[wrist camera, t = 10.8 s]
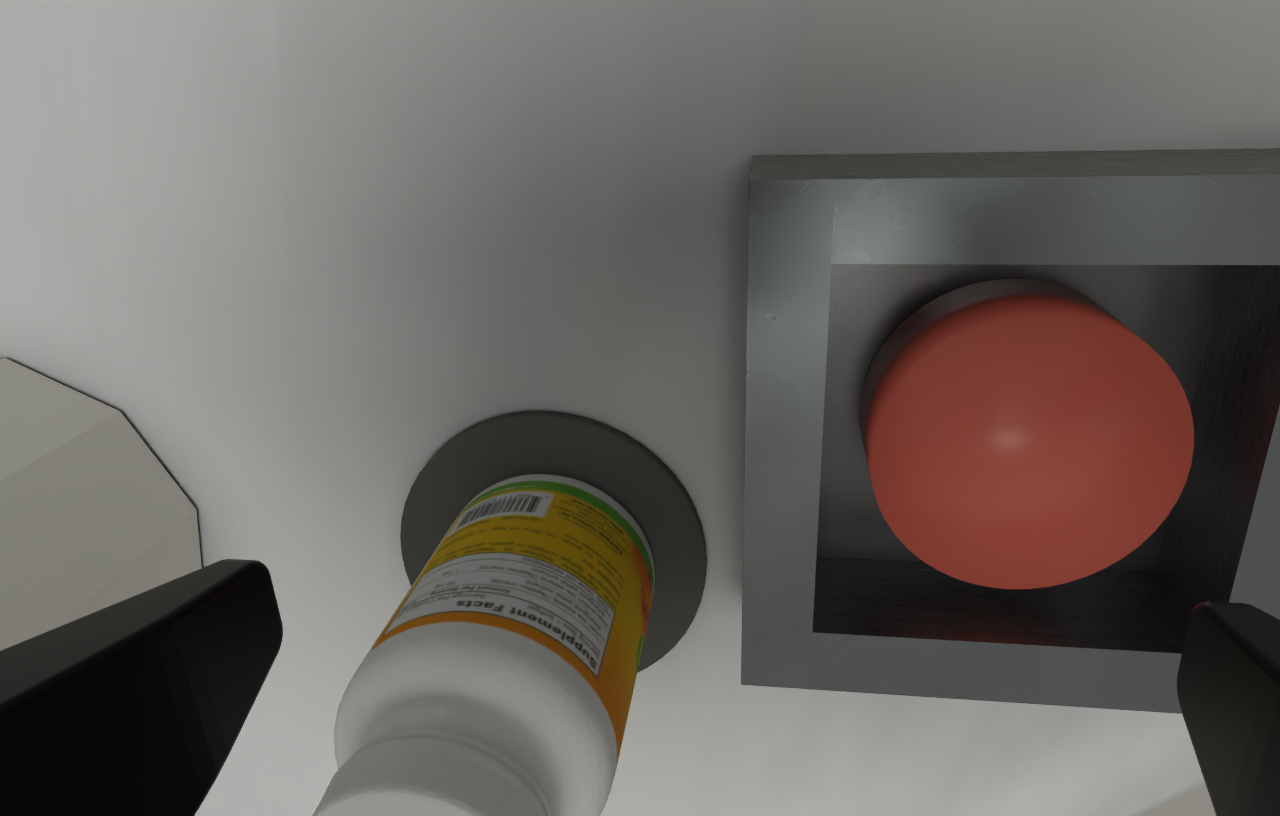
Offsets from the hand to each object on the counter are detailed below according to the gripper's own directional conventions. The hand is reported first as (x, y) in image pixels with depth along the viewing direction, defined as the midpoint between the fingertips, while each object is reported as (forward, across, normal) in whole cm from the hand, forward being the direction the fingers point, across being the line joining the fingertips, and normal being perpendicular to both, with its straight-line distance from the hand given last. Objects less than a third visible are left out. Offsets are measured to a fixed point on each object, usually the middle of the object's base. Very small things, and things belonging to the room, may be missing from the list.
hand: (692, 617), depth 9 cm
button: (+12, -5, +3) cm, 14 cm away
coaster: (+12, +5, +7) cm, 15 cm away
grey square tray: (+13, -6, +3) cm, 14 cm away
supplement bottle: (+12, +5, +7) cm, 15 cm away
